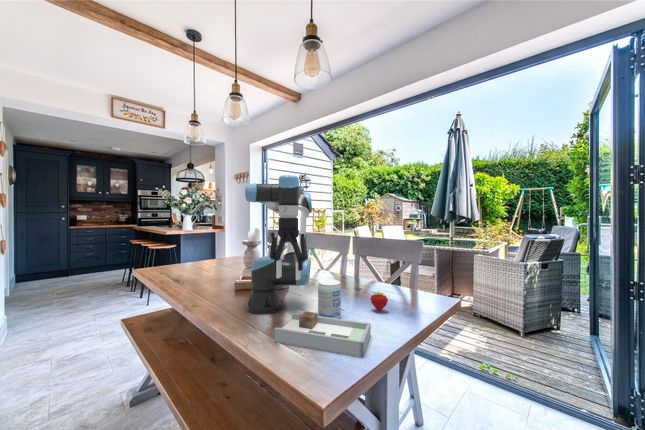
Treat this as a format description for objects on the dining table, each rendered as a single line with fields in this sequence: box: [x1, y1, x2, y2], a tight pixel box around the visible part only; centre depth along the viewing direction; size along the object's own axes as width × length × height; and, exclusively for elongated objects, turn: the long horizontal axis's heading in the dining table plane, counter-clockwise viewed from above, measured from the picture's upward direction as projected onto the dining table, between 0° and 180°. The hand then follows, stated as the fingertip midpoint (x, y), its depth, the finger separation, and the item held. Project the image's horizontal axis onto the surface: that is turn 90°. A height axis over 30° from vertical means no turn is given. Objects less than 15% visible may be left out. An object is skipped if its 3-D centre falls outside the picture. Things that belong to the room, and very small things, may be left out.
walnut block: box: [299, 310, 318, 329], centre depth 98 cm, size 5×5×4 cm
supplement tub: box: [317, 279, 342, 319], centre depth 113 cm, size 10×10×15 cm
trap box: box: [274, 312, 372, 358], centre depth 93 cm, size 30×15×4 cm, turn 71°
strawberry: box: [370, 291, 389, 313], centre depth 119 cm, size 6×8×10 cm
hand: (288, 278), depth 101 cm, fingers open, 7 cm apart
